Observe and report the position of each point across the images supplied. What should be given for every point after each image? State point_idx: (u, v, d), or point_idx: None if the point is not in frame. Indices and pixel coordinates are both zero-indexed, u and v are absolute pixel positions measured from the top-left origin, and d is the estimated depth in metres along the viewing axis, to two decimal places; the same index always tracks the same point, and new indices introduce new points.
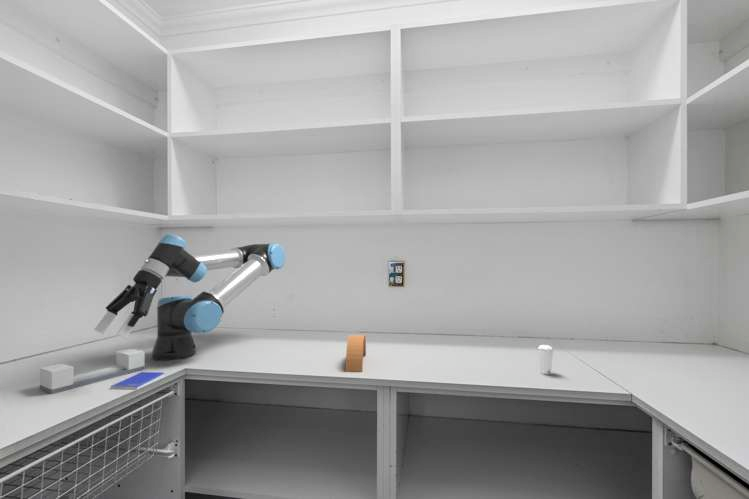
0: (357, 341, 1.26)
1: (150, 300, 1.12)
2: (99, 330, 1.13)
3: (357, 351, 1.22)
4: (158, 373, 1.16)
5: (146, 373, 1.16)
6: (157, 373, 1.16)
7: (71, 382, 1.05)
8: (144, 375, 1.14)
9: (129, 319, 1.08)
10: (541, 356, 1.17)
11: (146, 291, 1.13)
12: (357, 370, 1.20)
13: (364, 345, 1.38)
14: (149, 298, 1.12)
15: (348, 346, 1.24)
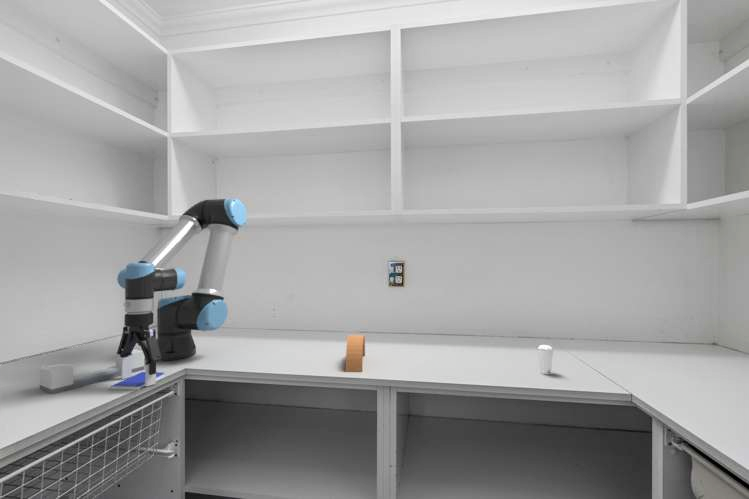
0: (357, 341, 1.26)
1: (155, 343, 1.08)
2: (126, 376, 1.14)
3: (357, 351, 1.23)
4: (158, 373, 1.16)
5: None
6: (157, 373, 1.16)
7: (71, 382, 1.05)
8: (144, 375, 1.14)
9: (147, 369, 1.07)
10: (541, 356, 1.17)
11: (146, 336, 1.07)
12: (357, 370, 1.20)
13: (363, 345, 1.38)
14: (153, 342, 1.08)
15: (348, 346, 1.24)
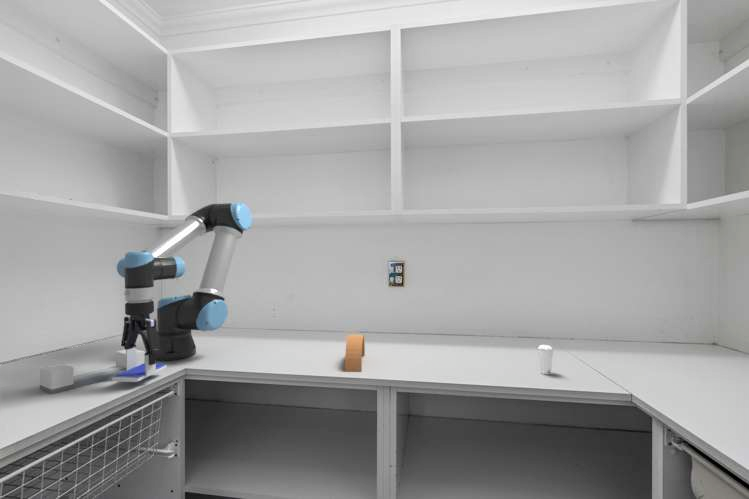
0: (356, 341, 1.26)
1: (155, 333, 1.09)
2: (131, 368, 1.14)
3: (356, 351, 1.23)
4: (160, 364, 1.17)
5: None
6: (159, 364, 1.17)
7: (71, 382, 1.05)
8: None
9: (147, 359, 1.08)
10: (541, 356, 1.17)
11: (147, 326, 1.08)
12: (356, 370, 1.20)
13: (363, 345, 1.38)
14: (154, 332, 1.09)
15: (347, 346, 1.24)
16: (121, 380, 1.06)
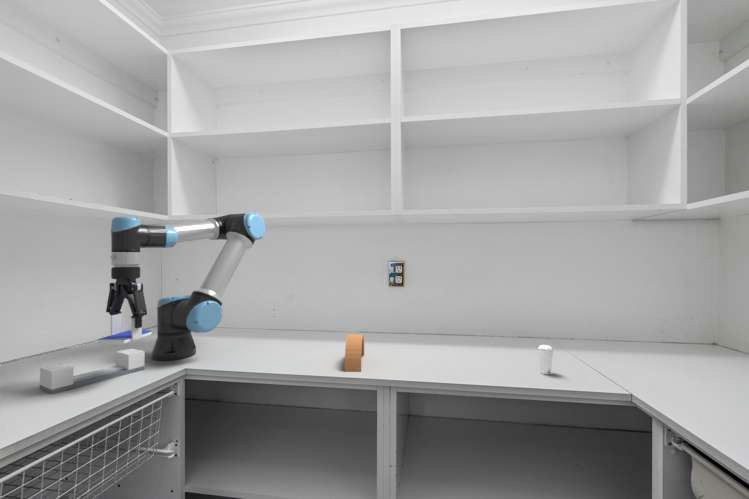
0: (356, 341, 1.26)
1: (142, 297, 1.10)
2: None
3: (356, 351, 1.23)
4: (145, 331, 1.18)
5: None
6: (144, 331, 1.18)
7: (71, 382, 1.05)
8: None
9: (133, 323, 1.09)
10: (541, 356, 1.17)
11: (133, 290, 1.09)
12: (356, 370, 1.20)
13: (362, 345, 1.38)
14: (140, 296, 1.10)
15: (347, 346, 1.24)
16: (107, 342, 1.07)
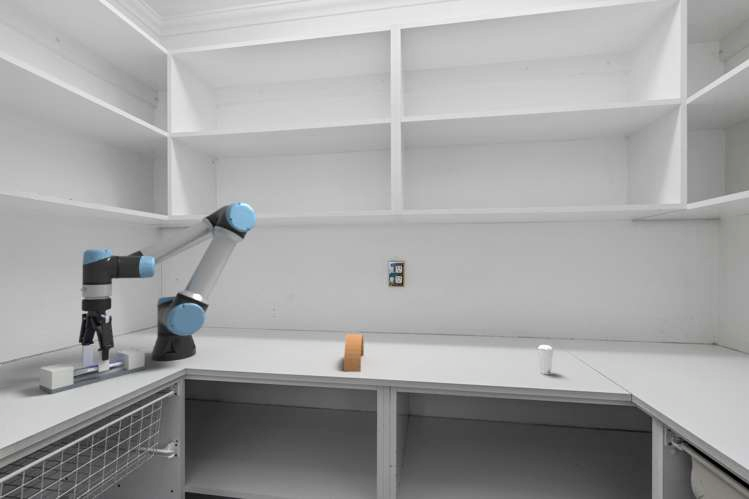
0: (355, 341, 1.26)
1: (110, 330, 1.12)
2: (87, 364, 1.16)
3: (355, 351, 1.23)
4: (116, 361, 1.19)
5: None
6: (115, 361, 1.19)
7: (71, 382, 1.05)
8: None
9: (100, 355, 1.11)
10: (541, 356, 1.17)
11: (101, 323, 1.11)
12: (355, 369, 1.21)
13: (362, 345, 1.38)
14: (108, 329, 1.11)
15: (346, 346, 1.24)
16: None
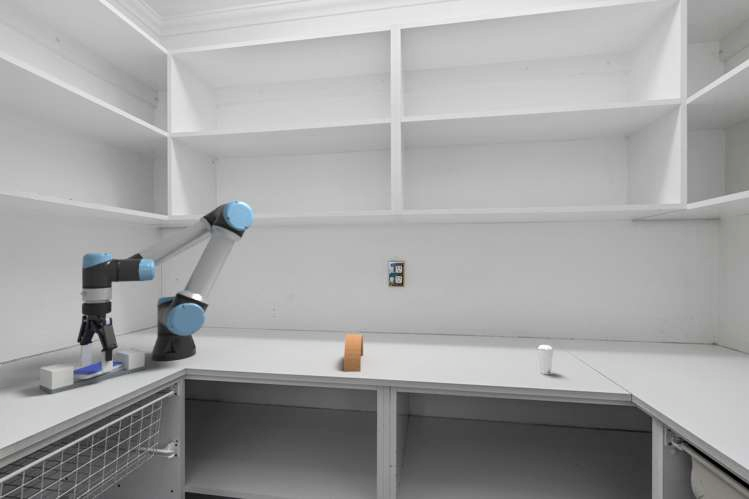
0: (355, 341, 1.26)
1: (111, 331, 1.11)
2: (85, 364, 1.17)
3: (355, 351, 1.23)
4: (116, 363, 1.19)
5: None
6: (115, 363, 1.19)
7: (71, 382, 1.05)
8: None
9: (104, 356, 1.10)
10: (541, 356, 1.17)
11: (102, 324, 1.10)
12: (355, 369, 1.21)
13: (361, 345, 1.38)
14: (110, 330, 1.11)
15: (346, 346, 1.24)
16: None
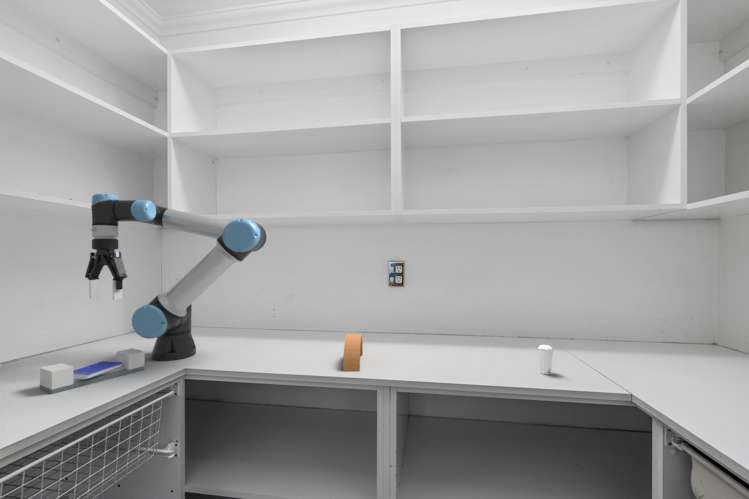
0: (354, 341, 1.26)
1: (121, 263, 1.24)
2: (94, 296, 1.29)
3: (354, 350, 1.23)
4: (116, 363, 1.19)
5: (105, 362, 1.19)
6: (115, 363, 1.19)
7: (71, 382, 1.05)
8: (102, 364, 1.17)
9: (115, 285, 1.22)
10: (541, 356, 1.17)
11: (112, 257, 1.23)
12: (354, 369, 1.21)
13: (361, 345, 1.39)
14: (119, 262, 1.24)
15: (345, 346, 1.25)
16: None
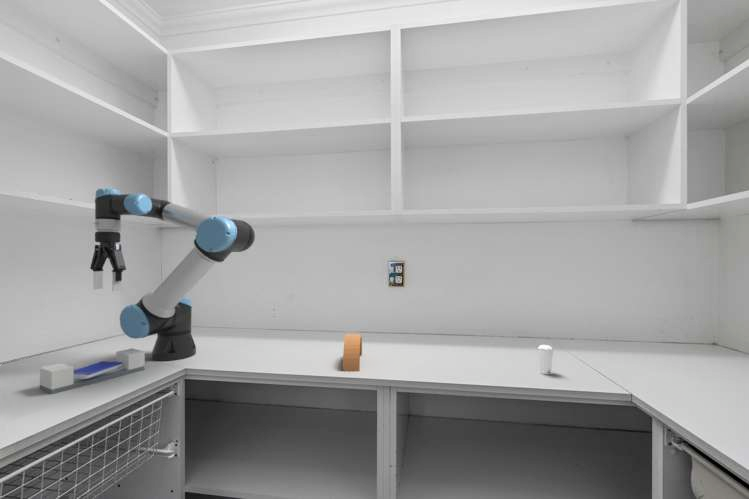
0: (354, 340, 1.27)
1: (121, 255, 1.28)
2: (98, 287, 1.34)
3: (354, 350, 1.23)
4: (116, 363, 1.19)
5: (105, 362, 1.19)
6: (115, 363, 1.19)
7: (71, 382, 1.05)
8: (102, 364, 1.17)
9: (114, 276, 1.27)
10: (541, 356, 1.17)
11: (113, 249, 1.27)
12: (354, 369, 1.21)
13: (360, 344, 1.39)
14: (119, 254, 1.28)
15: (345, 345, 1.25)
16: None
